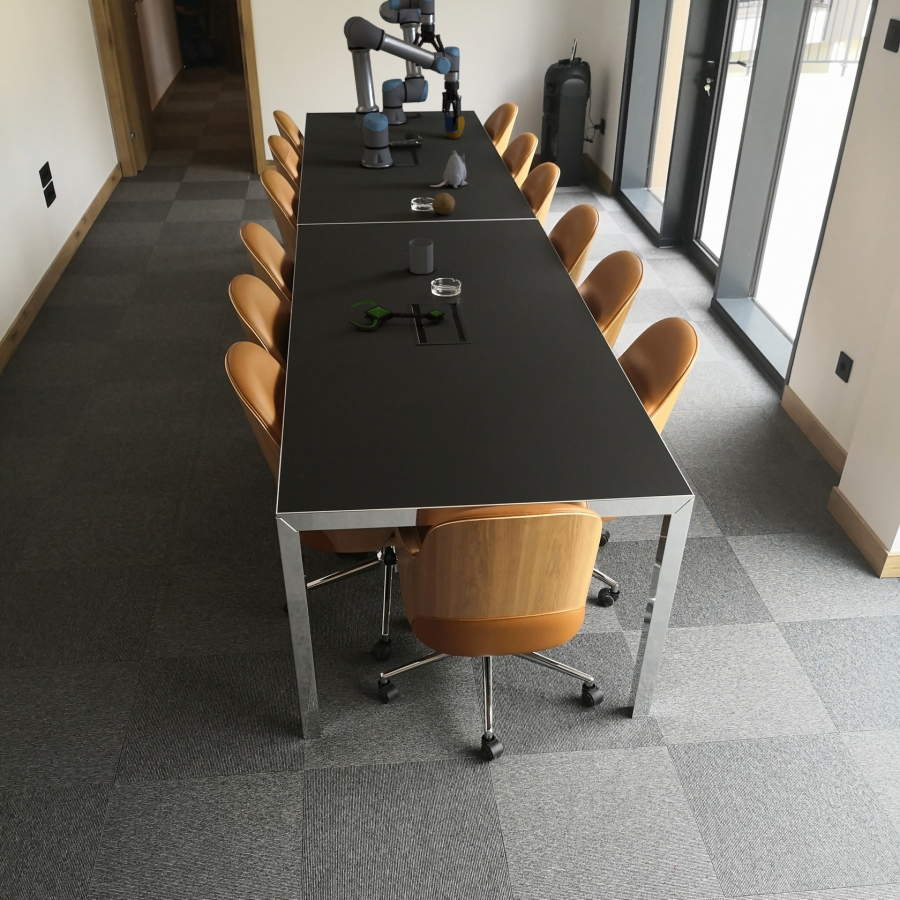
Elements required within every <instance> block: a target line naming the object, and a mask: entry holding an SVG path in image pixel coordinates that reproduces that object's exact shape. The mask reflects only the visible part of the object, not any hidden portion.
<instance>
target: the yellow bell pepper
mask: <svg viewBox="0 0 900 900" xmlns="http://www.w3.org/2000/svg"><path fill="white" fill-rule="evenodd" d="M450 115H454V114H453V113H450ZM465 123H466V122H465V117H464V116H463V115H462V114H461V116H460V117H458V130H457V132H446V131H445V133H446V136H447V137H448V138H449V139H450V140H455V139H458V138H460V137H461V136H462V134H463V132H464V129H465ZM444 129H445V130H446V128H445V127H444Z"/></svg>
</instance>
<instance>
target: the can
mask: <svg viewBox="0 0 900 900" xmlns="http://www.w3.org/2000/svg"><path fill="white" fill-rule="evenodd" d="M453 116H454V115H446V130H445V133H446V132H457V131H453Z"/></svg>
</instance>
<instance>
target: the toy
mask: <svg viewBox="0 0 900 900" xmlns="http://www.w3.org/2000/svg"><path fill="white" fill-rule="evenodd" d="M466 178H467V168H466V156H465V153H463V154H462V155H459V154H458V153H457V151H456V150H455V149H453V150H452V153H451V155H450V156H449V158H448V161H447V163H446V166H445V170H444V171H443V177H442V179H443V181H442V182H441V183H439V184H436V185H435V184H433V185H432V184H430V185H428V186H429V187H434V188H440V187H443V186H446V187H448V186H449V185H451V186H453V188H455V189H459V187H458V186H461V187H462V186H467V185H468V182H467V181H465V180H466Z"/></svg>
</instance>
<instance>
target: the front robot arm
mask: <svg viewBox="0 0 900 900" xmlns="http://www.w3.org/2000/svg"><path fill="white" fill-rule="evenodd" d="M343 35H344V37H345V39H346V43H347V50H348V51H349V52H350V53H351V59H352V67H353V75H354V84H355V91H356V99H357V107H356V108H355V119H354V122H355V127H356V130H357V131H358V133H360V134H361V136H363V138H364V139H363V140H364V151H363V155H362V159H361V166H362V167H363V168H366V169H371V170H381V169H387V168H390V167H392V166H394V161H393V158H392V151H391V150H390V147H389V145H390V144H389V125H388V120H387V117H386V116H385V115H384V114H382V113H381V112H380V106H379V105H377V103H376V97H375V87H374V78H373V70H372V60H371V50H372V51H375V52H379V51H382V52H384V53H387V54H389V55H392V56H395V57H397V58H400V59H402V60H407V61H410V62H412V63H415V64H417V65H420V66H421V70H430V71H432V72H435V73H437V74H439V75H443V80H444V83H443V89H444V90H445V91H442V92H441V96H442V97H441V98H442V100H441V101H442V102H441V113H443V115H444V129H445V128H446V115H450V114H451V112H450V111H451V106H452V114H454V116H453V131H457V130H458V117H460V116H461V115H462V95H459V92H458V90H460V63H461V61H460V60H461V56H460V55H461V54H460V52H461V51H460V48H459V47H457V46H451V45H450V46H445V47H444V52H437V51H431V50H428V49H426V48H424V47H422V46H421V47H418V46H416V45H413V44H411V43H409V42H406V41H404V39H401V38H399V37H396V36H394V35H392V34H389V33H386V31H385V29H383V28H381V27H378V26H377V25H376V24H373V23H372V22H370V21H369V20H368V19H365V18H364V17H362V16H358V15H357V16H356V15H355V16H351V17H349V18H348V19H347V20H346V21H345V22H344V25H343Z"/></svg>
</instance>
